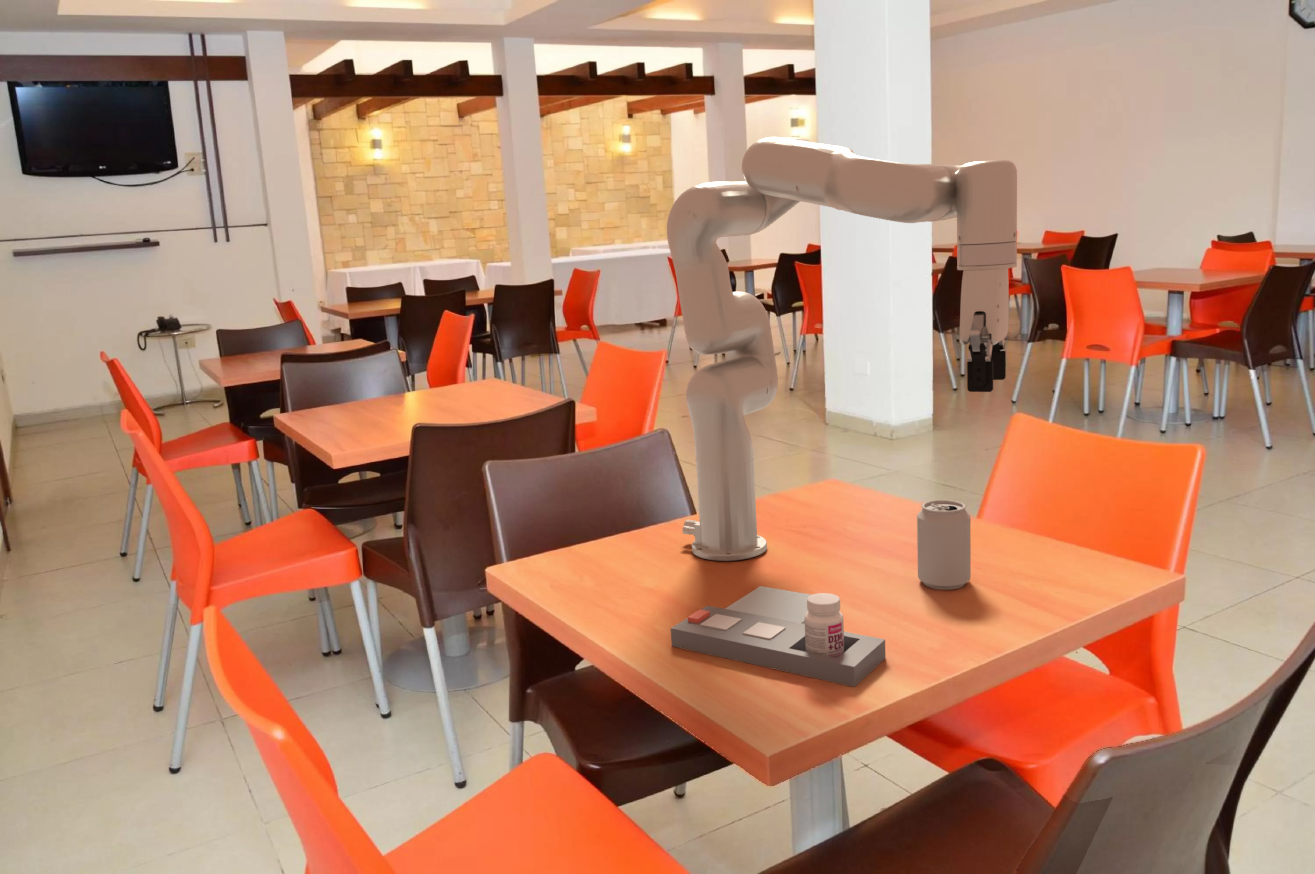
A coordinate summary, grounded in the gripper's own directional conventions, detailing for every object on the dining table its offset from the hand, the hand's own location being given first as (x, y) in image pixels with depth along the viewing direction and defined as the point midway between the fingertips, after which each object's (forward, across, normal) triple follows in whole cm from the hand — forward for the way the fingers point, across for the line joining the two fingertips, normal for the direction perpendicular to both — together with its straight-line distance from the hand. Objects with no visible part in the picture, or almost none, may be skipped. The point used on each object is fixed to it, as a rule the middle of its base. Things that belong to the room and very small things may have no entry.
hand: (987, 385), depth 140 cm
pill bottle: (+30, +28, -14) cm, 44 cm away
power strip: (+30, +28, -21) cm, 46 cm away
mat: (+30, +14, -26) cm, 42 cm away
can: (+30, -4, -7) cm, 31 cm away
